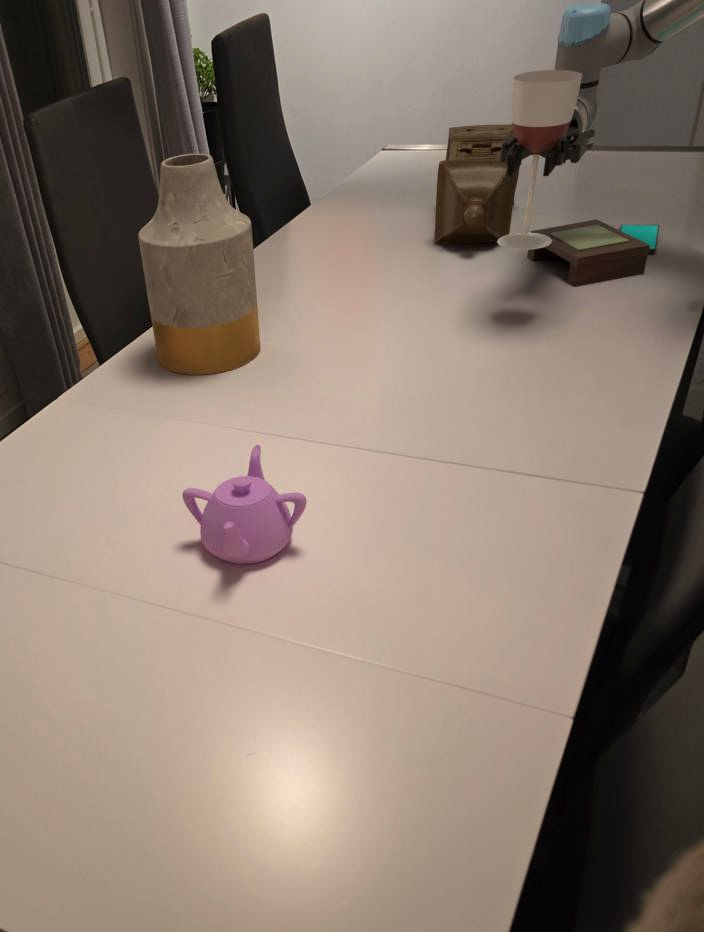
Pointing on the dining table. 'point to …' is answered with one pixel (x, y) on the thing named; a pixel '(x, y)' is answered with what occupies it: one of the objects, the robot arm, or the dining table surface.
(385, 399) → the dining table surface
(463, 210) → the ornamental box
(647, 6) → the robot arm
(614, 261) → the shelf
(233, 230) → the vase
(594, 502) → the dining table surface
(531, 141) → the wineglass
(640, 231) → the smartphone
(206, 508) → the teapot
